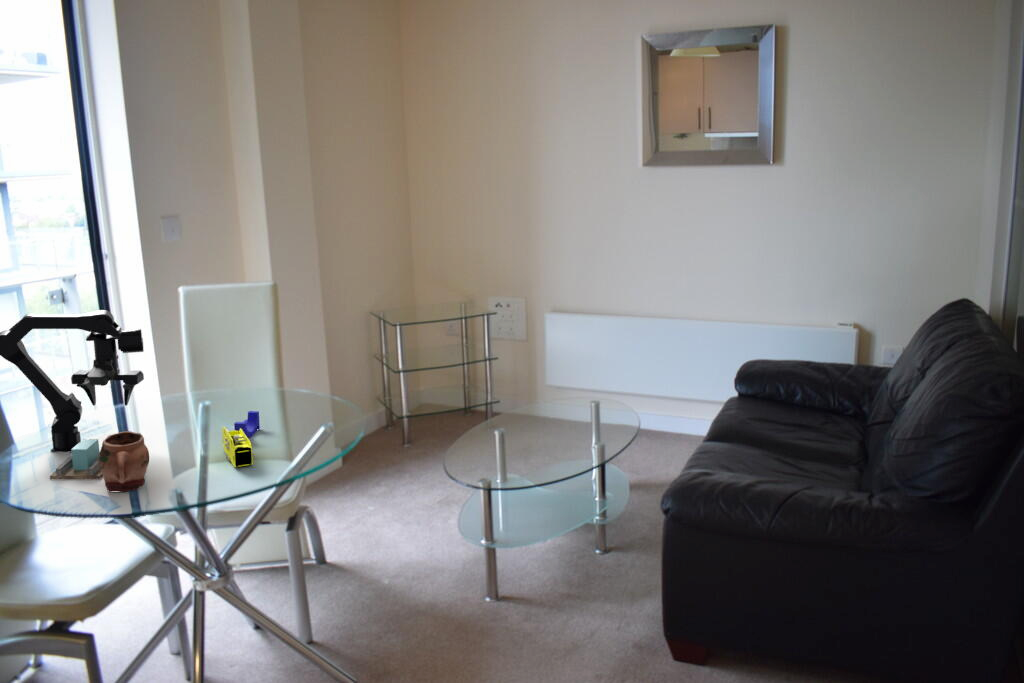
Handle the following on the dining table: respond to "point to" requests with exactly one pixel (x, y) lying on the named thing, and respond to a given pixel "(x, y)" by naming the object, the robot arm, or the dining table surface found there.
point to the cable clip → (249, 424)
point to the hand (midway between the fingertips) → (110, 405)
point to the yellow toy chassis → (237, 447)
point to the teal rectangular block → (85, 454)
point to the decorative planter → (123, 461)
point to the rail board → (76, 471)
